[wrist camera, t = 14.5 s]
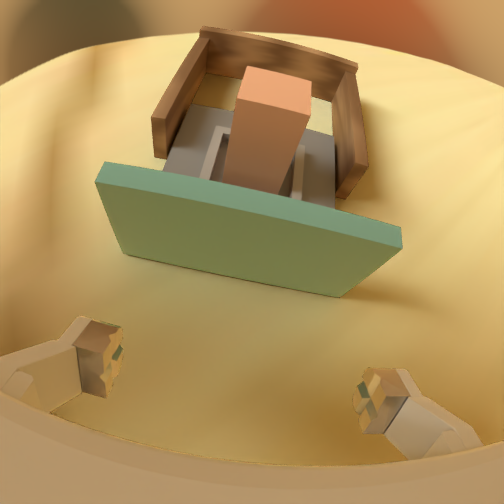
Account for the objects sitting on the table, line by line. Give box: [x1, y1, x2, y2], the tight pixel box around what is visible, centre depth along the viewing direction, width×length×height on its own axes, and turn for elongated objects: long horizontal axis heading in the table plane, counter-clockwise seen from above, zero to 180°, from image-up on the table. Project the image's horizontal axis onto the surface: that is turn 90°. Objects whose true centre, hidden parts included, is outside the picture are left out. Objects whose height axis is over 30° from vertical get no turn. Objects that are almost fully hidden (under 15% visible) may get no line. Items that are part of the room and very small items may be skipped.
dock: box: [151, 26, 369, 199], centre depth 29 cm, size 18×16×6 cm
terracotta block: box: [222, 66, 311, 195], centre depth 23 cm, size 4×4×9 cm
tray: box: [95, 104, 403, 298], centre depth 24 cm, size 17×16×9 cm
